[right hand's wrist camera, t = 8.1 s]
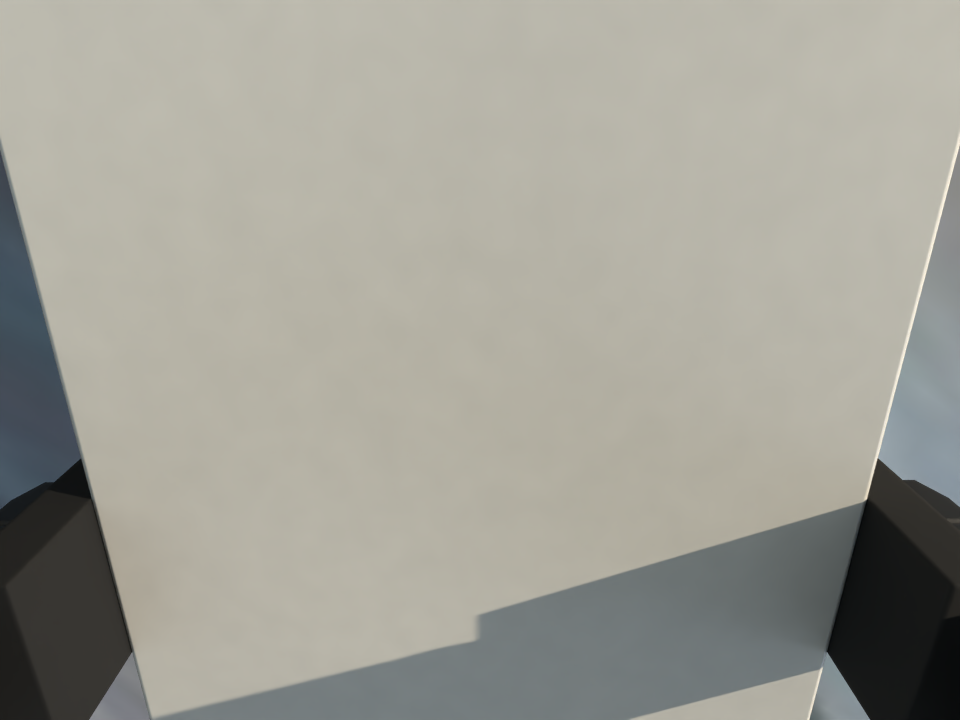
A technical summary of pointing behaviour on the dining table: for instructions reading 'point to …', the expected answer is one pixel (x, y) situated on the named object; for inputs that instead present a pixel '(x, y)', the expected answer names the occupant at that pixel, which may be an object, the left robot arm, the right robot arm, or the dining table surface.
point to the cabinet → (479, 335)
